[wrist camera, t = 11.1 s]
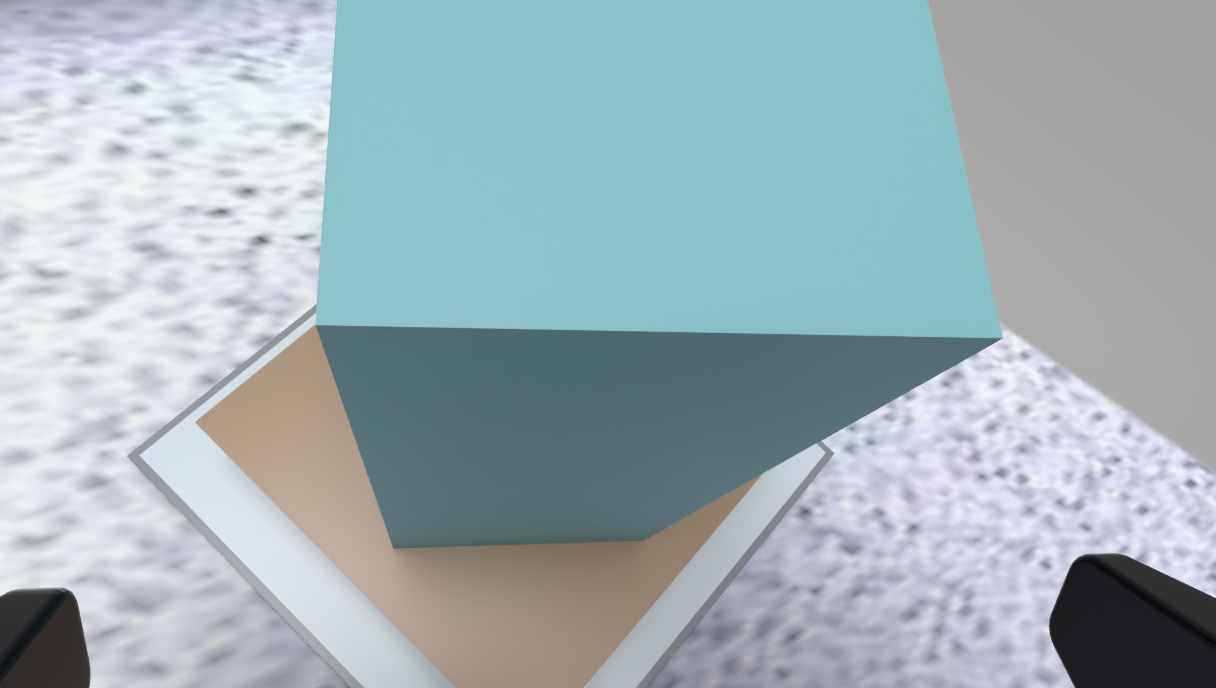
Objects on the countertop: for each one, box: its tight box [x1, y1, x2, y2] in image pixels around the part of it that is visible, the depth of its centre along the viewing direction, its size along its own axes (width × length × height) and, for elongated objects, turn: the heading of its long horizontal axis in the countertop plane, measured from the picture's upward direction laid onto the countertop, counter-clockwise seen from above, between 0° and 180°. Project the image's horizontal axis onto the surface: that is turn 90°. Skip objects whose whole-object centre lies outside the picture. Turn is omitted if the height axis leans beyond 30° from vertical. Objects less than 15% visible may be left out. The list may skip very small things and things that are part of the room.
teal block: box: [316, 0, 1003, 548], centre depth 12 cm, size 5×5×12 cm
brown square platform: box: [127, 304, 834, 688], centre depth 20 cm, size 12×12×4 cm
